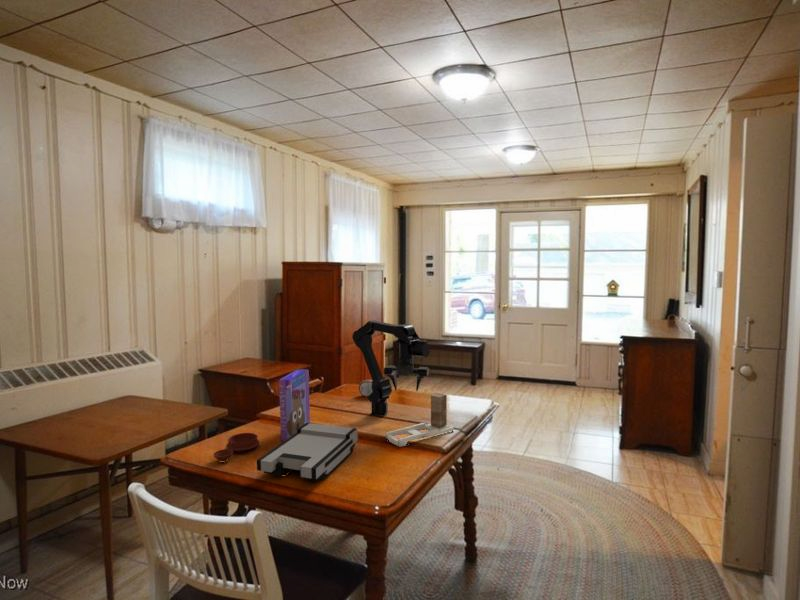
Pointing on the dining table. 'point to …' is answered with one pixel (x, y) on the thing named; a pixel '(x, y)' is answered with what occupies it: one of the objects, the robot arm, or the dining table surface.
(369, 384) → the tin
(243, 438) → the pottery
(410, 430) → the box
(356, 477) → the dining table surface
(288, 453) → the game console
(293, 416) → the cereal box
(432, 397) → the walnut block
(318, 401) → the dining table surface
